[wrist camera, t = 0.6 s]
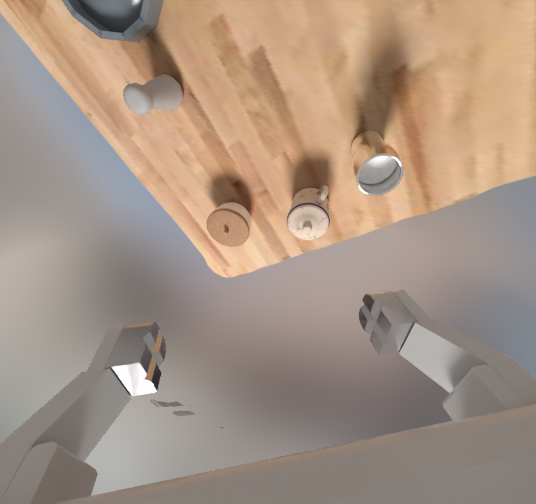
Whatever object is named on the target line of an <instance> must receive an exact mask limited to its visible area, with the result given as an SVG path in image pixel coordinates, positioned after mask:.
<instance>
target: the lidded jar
mask: <svg viewBox="0 0 536 504" xmlns="http://www.w3.org/2000/svg"><path fill="white" fill-rule="evenodd" d="M251 224H252V222H251V216H250V214H249V212H248V211H247V209H246V208H245V207H243V206H242V205H240V204H238V203H234V202H228V203H224V204H222V205H220V206H218V207H217V208H216V209H215V210H214V211H213V212H212V213H211V214H210V216H209V217H208V220H207V229H208V231H209V233H210V235H211V236H212V237H213V238H214V239H215V240H216V241H217V242H219V243H220V244H222V245H225V246H230V247H235V246H240V245H242V244H243V243H245V242H246V240H247V239H248V237H249V233H250V230H251Z"/></svg>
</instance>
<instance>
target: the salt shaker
mask: <svg viewBox="0 0 536 504" xmlns="http://www.w3.org/2000/svg"><path fill="white" fill-rule="evenodd" d="M123 96H124V100H125V103H126V104H127V106H128V107H129V109H130V110H132V111H133V112H134V113H136V114H139V115H144V114H148V113H149V112H150V111H151V110H152V109H160V110H170V111H171V110H177V109H178V108H179V107H180V106H181V104H182V101H183V97H184V94H183V91H182V88H181V85H180V84H179V83H178V82H177V81H176V80H175V79H174V78H173V77H171V76H168V75H166V74H163V75H159V76H157V77H155V78H154V79H152V80H151V81H149V82H147V83H146V84H144V85H140V84H138V83H133V84H129V85H127V86H126V87H125V89H124V94H123Z"/></svg>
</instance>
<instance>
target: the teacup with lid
mask: <svg viewBox="0 0 536 504" xmlns="http://www.w3.org/2000/svg"><path fill="white" fill-rule="evenodd" d="M328 192H329V187H328V186H326V185H323V186H322V187H321V188H320V189H316V188H305V189H302V190H300V191H299V192H297V193H296V195H295V196H294V198H293V201H292V205H291V209H290V212H289V214H288V217H287V225H288V228H289V230H290V231H291V232H292V234H294V235H295V236H296V237H298V238H301V239H304V240H312V239H316V238H319V237H320V236H322V235H323V234H324V233H325V232H326V231H327V229H328V227H329V223H330V219H329V215H328V199H327V197H326V196H327V194H328Z"/></svg>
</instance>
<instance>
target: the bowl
mask: <svg viewBox="0 0 536 504" xmlns="http://www.w3.org/2000/svg"><path fill="white" fill-rule="evenodd" d="M62 1H63V3H64V4H65V6H66V7H67V9H68V10H69V12H70V13H71V15H72V16H73V17H74V18H75V19H77V20H78V21H79V22H81V23H82V24H83V25H84V26H86V27H87V28H88V29H90V30H91V31H92V32H93V33H95V34H96V35H97V36H99V37H100V38H103V39H112V40H120V41H130V42H139V41H140V40H142V39H143V38H144V37H145V36H146V35H147V34H149V33H150V32H151V31H152V30H153V29H154V28H156V27H157V24H158V19H159V15H160V11H161V7H162V3H163V0H62Z"/></svg>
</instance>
